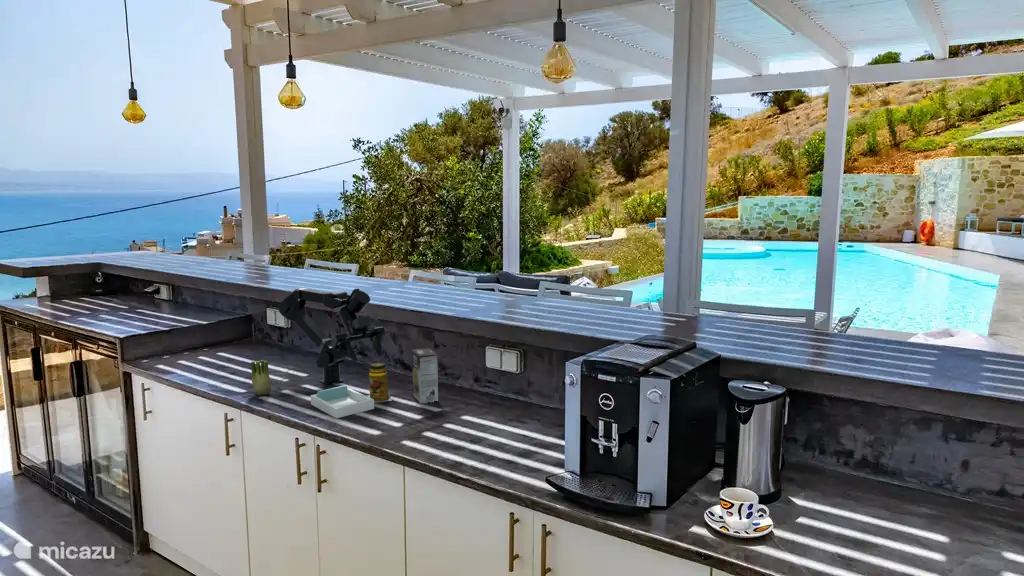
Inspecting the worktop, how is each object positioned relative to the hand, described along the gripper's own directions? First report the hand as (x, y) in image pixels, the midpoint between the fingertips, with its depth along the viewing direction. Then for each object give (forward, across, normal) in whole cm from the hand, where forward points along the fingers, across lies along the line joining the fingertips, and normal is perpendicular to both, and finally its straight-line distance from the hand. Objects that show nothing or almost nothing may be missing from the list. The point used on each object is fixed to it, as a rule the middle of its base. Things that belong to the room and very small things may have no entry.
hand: (368, 357), depth 219 cm
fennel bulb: (-9, -27, +27) cm, 39 cm away
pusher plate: (+8, -13, +9) cm, 18 cm away
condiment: (+14, 0, +5) cm, 14 cm away
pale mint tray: (+13, -13, +5) cm, 19 cm away
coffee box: (+21, +11, -3) cm, 24 cm away
